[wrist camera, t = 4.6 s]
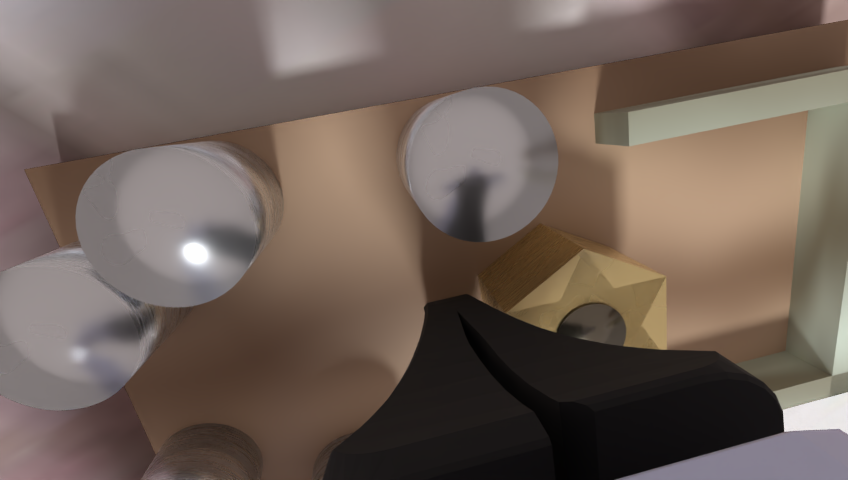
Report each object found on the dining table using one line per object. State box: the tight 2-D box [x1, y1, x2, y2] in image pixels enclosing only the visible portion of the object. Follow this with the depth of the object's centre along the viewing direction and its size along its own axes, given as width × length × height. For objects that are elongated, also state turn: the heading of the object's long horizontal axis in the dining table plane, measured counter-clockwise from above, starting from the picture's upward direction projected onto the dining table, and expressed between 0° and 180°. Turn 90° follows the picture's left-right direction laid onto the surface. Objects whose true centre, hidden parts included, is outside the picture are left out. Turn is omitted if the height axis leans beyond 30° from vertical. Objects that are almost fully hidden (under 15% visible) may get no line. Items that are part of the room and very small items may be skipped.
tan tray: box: [25, 20, 848, 480], centre depth 12 cm, size 12×22×3 cm, turn 100°
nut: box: [478, 223, 667, 350], centre depth 11 cm, size 4×5×3 cm
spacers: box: [0, 86, 558, 480], centre depth 10 cm, size 12×13×3 cm
